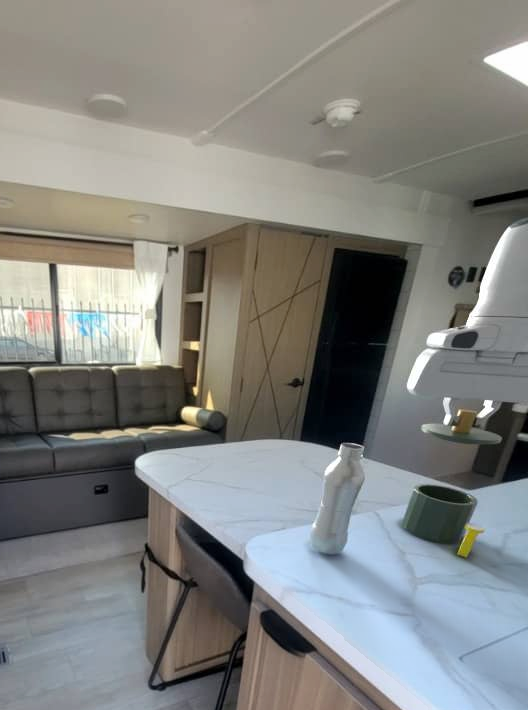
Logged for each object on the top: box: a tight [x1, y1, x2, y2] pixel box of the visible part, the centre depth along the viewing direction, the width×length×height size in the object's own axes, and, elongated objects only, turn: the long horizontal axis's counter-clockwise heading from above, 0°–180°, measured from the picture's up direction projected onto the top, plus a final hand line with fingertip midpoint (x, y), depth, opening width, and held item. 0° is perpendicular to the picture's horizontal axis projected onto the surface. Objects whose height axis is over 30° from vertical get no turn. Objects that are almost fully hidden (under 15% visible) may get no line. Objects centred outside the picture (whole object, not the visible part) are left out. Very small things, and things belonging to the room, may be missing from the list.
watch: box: [457, 522, 485, 558], centre depth 75 cm, size 6×3×6 cm, turn 135°
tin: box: [401, 483, 479, 544], centre depth 83 cm, size 11×11×8 cm
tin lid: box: [420, 408, 503, 446], centre depth 69 cm, size 11×11×5 cm
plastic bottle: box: [308, 442, 366, 555], centre depth 72 cm, size 6×7×20 cm
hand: (462, 426), depth 69 cm, fingers closed on tin lid, 2 cm apart
